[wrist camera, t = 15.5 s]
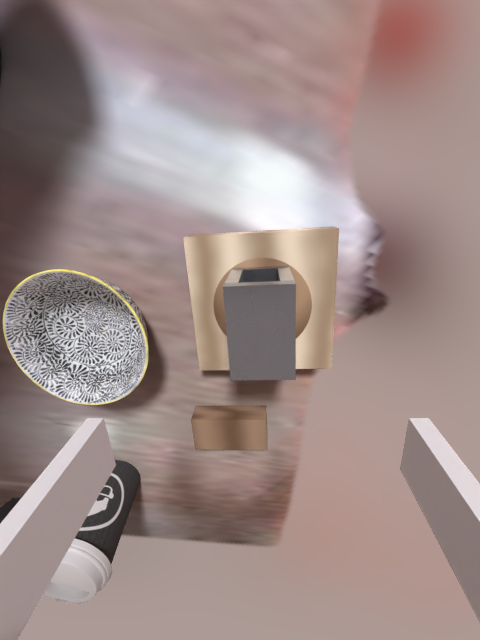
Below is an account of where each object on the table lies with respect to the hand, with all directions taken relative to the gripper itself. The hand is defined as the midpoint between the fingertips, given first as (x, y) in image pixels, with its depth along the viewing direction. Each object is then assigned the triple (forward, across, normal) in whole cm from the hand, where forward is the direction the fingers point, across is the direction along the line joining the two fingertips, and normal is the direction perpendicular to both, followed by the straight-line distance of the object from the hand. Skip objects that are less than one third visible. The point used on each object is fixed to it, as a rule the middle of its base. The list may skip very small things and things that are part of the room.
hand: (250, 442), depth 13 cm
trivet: (+25, 0, -1) cm, 25 cm away
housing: (+22, 0, -1) cm, 22 cm away
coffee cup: (+25, -24, -30) cm, 46 cm away
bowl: (+25, -20, -3) cm, 32 cm away
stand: (+25, -5, -19) cm, 31 cm away
